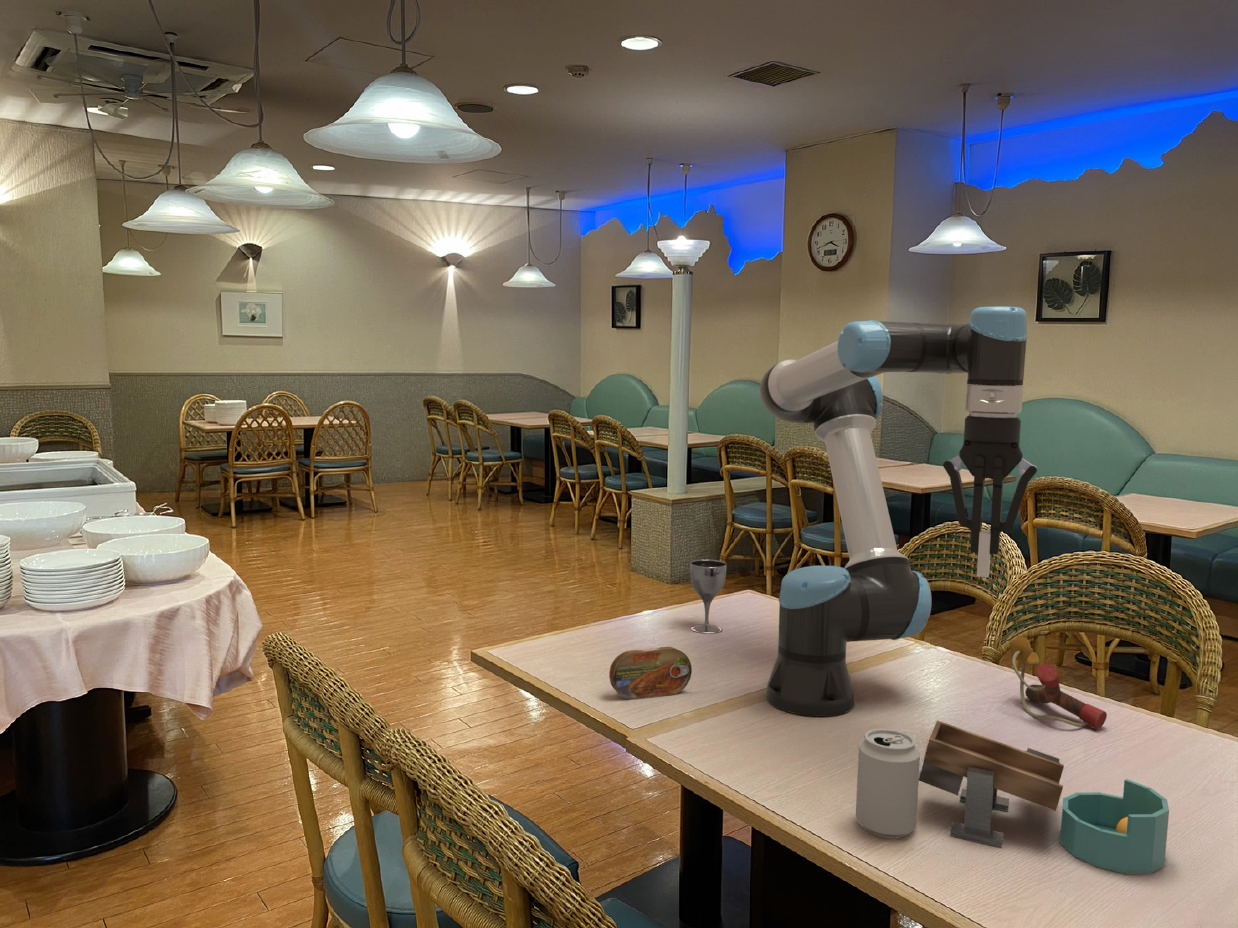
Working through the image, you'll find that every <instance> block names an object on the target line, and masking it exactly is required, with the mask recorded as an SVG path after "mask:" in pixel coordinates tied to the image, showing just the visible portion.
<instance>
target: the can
mask: <svg viewBox="0 0 1238 928" xmlns="http://www.w3.org/2000/svg"><path fill="white" fill-rule="evenodd" d="M857 755H858V757H857V780H856V798H855V800H856V801H855V802H856V803H855V819H856V821H857V822H858V823H859V824H860V825H861V826H862V827H863V829H865V830H866V831H867V832H868V833H870V834H872V835H874V836H877V837H881V838H885V839H900V838H903V837H906V836H907V835H908V834H910V833H912V832H913V831H914V830H915V829H916V828H917V816H918V803H919V802H918V800H919V782H920V781H919V777H920V762H921V761H920V760H921V751H920V750H919V748H917V746H916V740H915V738H914V737H912V736H911V735H910V734H908V733H906V732H904V731H901V730H897V729H892V728H874V729H870V730H868V731H867V732H865V734H864V738H863V740H862V741H860V743H859V745H858V754H857Z"/></svg>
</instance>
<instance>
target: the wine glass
mask: <svg viewBox="0 0 1238 928" xmlns="http://www.w3.org/2000/svg"><path fill="white" fill-rule="evenodd" d="M689 569H690V570H689V571H690V572H689V573H690V581H691V585H692V588H693V589H694V591H695V592H696V594H697V595H698V597H699V598H700V599H701V600H702V601H701V602H702V603H703V606H704V622H703V623H702V624H695V626H694V625H692V626H691V627H694V628H693V629H695V630H696V631H698V632H719V631H720V629H719V628H718V625H714V624H710V622H709V621H710V620H709V616H710V614H709V613H710V608H711V605H712V602H713V600H714V599H715V598H716V597H717V595H718V594H719V593H721V591H722V590H723V589H724V585H725V583H726V582H725V581H726V576H727V563H726V562H725V561H723V560H717V559H710V558H709V559H708V558H706V559H705V558H704V559H700V558H699V559H694V560H691V561H690V565H689ZM719 633H720V632H719Z"/></svg>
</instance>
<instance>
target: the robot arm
mask: <svg viewBox="0 0 1238 928" xmlns="http://www.w3.org/2000/svg"><path fill="white" fill-rule="evenodd" d="M970 315H971V316H970V320H969V322H968V323H967V322H966V323H944V322H943V323H941V322H940V323H939V322H938V323H937V322H936V323H935V322H933V323H932V322H904V321H903V322H902V321H901V322H900V321H881V320H880V321H878V320H873V319H872V320H871V319H869V320H868V319H867V320H863V321H852V322H851V321H850V322H849V323H847V324H846V325H845V326H844V327H843V330H842V331H841V332H840V334H839V336H838V339H837V341H835V342H832V343H831V344H829V345H826V346H823V347H821V348H820V349H818V350H816V351H814V352H811V353H809V354H808V355H805V356H803V357H801V358H799V359H785V360H782V361H781V362H779V363H777V364H775V365H772V367H770V368H769V369H768V370H766V372H765V373H764V375H763V377H762V378H761V380H760V385H759V394H760V399H761V401H762V404H763V406H764V408H765V409H766V410H767V411H768V412H769V413H770V414H771V415H773V416H774V417H775V418H777V419H779V420H781V421H784V422H787V423H793V424H795V423H796V424H811V425H812V426H813V429H814V435H815V437H816V438H817V439H818V440H820V441H822V442H823V443H825V447H826V453H827V459H828V463H829V468H830V472H831V477H832V482H833V486H834V491H835V496H836V500H837V505H838V511H839V515H840V518H841V519H840V520H841V524H842V530H843V534H844V539H845V544H846V549H847V553H848V558H849V559H848V560H849V561H848V562H847V563H846V564H845V566H844V567H841V566H836V565H810V566H804V567H800V568H795V569H794V570H792V571H789V572H787V574H785V576H784V577H782V580H781V585H780V593H779V598H778V603H779V608H778V609H779V611H778V612H779V615H778V617H779V619H778V647H777V648H778V649H777V657H776V660H775V663H774V666H773V668H772V670H771V673H770V675H769V679H768V681H767V685H766V695H765V697H766V700H767V701H768V703H770V705H771V706H773V707H775V708H777V709H780V710H782V711H785V712H789V713H791V714H795V715H802V716H811V717H832V716H838V715H842V714H846V713H848V712H850V711H851V710H852V709H853V708H854V707H855V688H854V685H853V682H852V678H851V675H850V671H849V669H848V664H847V658H846V657H847V643H849V642H852V643H853V642H868V641H869V642H870V641H879V640H880V641H881V640H890V641H891V640H892V641H897V640H899V639H905V638H912V637H915V636H917V635H919V634H920V633H921V632H923V630H924V629H925V627H926V626H927V624H928V621H929V618H930V616H931V612H932V611H931V610H932V592H931V591H932V590H931V587H930V584H929V582H928V580H927V578H926V577H924V575H923V573H921V572H918V571H916V570H912V569H911V565H910V560H909V558H908V557H907V556H906V555H904V554H903V553H901V552H899V551H898V547H897V543H896V542H897V541H896V538H895V535H894V529H893V526H892V521H891V517H890V514H889V508H888V505H887V500H886V499H887V498H886V495H885V492H884V487H883V483H882V479H881V475H880V469H879V466H878V461H877V457H876V456H877V455H876V452H875V448H874V444H873V440H872V435H871V433H872V432H873V430H874V428H875V427H876V425H877V420H878V418H879V417H880V416H881V413H882V411H883V405H884V404H883V403H882V401H884V396H883V395H884V393H883V389H882V388H883V387H882V384H881V382H880V379H879V378H878V375H882V374H883V373H926V374H927V373H928V374H929V373H932V374H933V373H934V374H946V375H950V374H966V373H967V381H966V393H965V397H966V399H965V412H967V413H969V414H968V415H966V417H964V427H963V429H964V430H963V442H962V447H960V450H959V452H958V455H956V456H955V457H953V458H951V459H947V460H945V461H944V462H943V465H942V466H943V468H944V470H945V471H946V473H947V474H948V477H949V480H950V485H951V490H952V496H953V500H954V506H955V511H956V516H957V521H958V524H959V526H961V527H965V528H966V529H967V528H968V530H970V547H969V548H970V551H971V552H970V553H975V554H977V565H976V566H977V568H976V569H977V570H976V577H978V578H979V577H980V578H989V576H990V567H991V555H995V556H996V555H998V553H999V551H1000V543H1001V542H1000V540H1001V538H1000V537H1001V534H1002V533H1003V532H1005V531H1011V530H1012V529H1013V528H1014V526H1015V523H1016V520H1017V518H1018V514H1019V512H1020V508H1021V505H1022V502H1023V500H1024V497H1025V494H1026V492H1027V488H1028V485H1029V482H1030V481H1031V480H1032V478H1033V477H1034V476H1035V475H1036V473H1037V472H1038V469H1039V468H1038V466H1037V465H1036V464H1032V463H1030V462H1029V461H1028V460H1026V459H1024V456H1023V453H1022V451H1021V448H1020V443H1021V442H1020V441H1021V438H1020V437H1021V424H1022V419H1020V418H1019V417H1017V416H1018V414H1020V413H1022V411H1023V399H1024V398H1023V395H1024V379H1025V377H1024V376H1025V362H1026V353H1027V352H1026V351H1027V340H1028V337H1029V335H1028V332H1027V331H1028V327H1027V326H1028V325H1027V323H1028V321H1027V319H1028V318H1027V316H1028V315H1027V312H1026V311H1025V309H1024V308H1022V307H1019V306H981V307H976V308H974V309H973V310H972V311H971V314H970ZM962 463H963V465H964V466H965V467H966V468H967V471H969V474H971V476H972V477H973V495H972V496H973V498H972V508H971V509H972V510H971V511H972V512H971V513H972V514H971V518H970V517H969V512H968V508H967V502H966V496H965V492H964V486H963V481H962V477H961V473H960V471H961V470H962ZM1017 466H1019V469H1018V475H1019V476H1020V479H1019V480H1018V483H1017V485H1016V489H1015V492H1014V495H1013V498H1012V500H1011V504H1010V506H1009V509H1008V512H1007V516H1006V518H1005V520H1003V521H1002V512H1003V494H1004V484H1005V483H1004V482H1005V481H1004V480H1005V478H1007V477H1008V476H1009V475H1010V474H1011V473H1012V472H1013V470H1015V468H1016V467H1017ZM986 479H990V480H992V497H991V499H992V500H991V510H990V511H991V513H990V515H991V516H990V529H987V530H986V529H985V530H984V529H982V526H983V513H984V512H983V511H984V495H985V483H986Z"/></svg>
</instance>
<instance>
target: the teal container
mask: <svg viewBox="0 0 1238 928" xmlns="http://www.w3.org/2000/svg"><path fill="white" fill-rule="evenodd" d="M1061 809H1062V810H1061V822H1060V835H1059V836H1060V837H1059V839H1060V840H1059V841H1060V842H1059V843H1060V844H1061V845H1062V847H1064V848H1065V849H1066V850H1067V851H1068V852H1069V853H1070V854H1071V855H1072V856H1073V857H1075V858H1078V859H1080V860H1082V861H1084V862H1086V863H1088V864H1090V865H1092V866H1094V867H1096V868H1099V869H1105V870H1108V871H1113V872H1117V873H1119V874H1120V873H1121V874H1126V875H1131V874H1132V875H1139V874H1141V875H1143V874H1147V875H1148V874H1149V875H1150V874H1153V873H1154V872H1157V871H1158V870H1160V869H1162V868H1163V867H1165V863H1166V851H1167V840H1168V831H1169V830H1168V829H1169V827H1168V826H1169V814H1170V808H1169V803H1168V799H1166V798H1165V797H1164V796H1163V795H1161V794H1160V793H1159V792H1157V791H1156V790H1155V789H1154V788H1151V787H1149V786H1146V785H1143V784H1141V783H1139V782H1136V781H1133V780H1132V779H1128V778H1126V779H1124V781H1123V794H1122V796H1118V795H1113V794H1110V793H1109V794H1108V793H1105V792H1100V791H1099V792H1098V791H1096V792H1095V791H1093V792H1092V791H1091V792H1090V791H1088V792H1086V791H1085V792H1075V793H1072V794H1070V795H1067V796H1065V797H1063V798H1062V807H1061ZM1125 817H1128V822H1127V834H1122V833H1117V832H1116V827H1117V824H1118V823H1119V821H1120V820H1122V819H1123V818H1125Z"/></svg>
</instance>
